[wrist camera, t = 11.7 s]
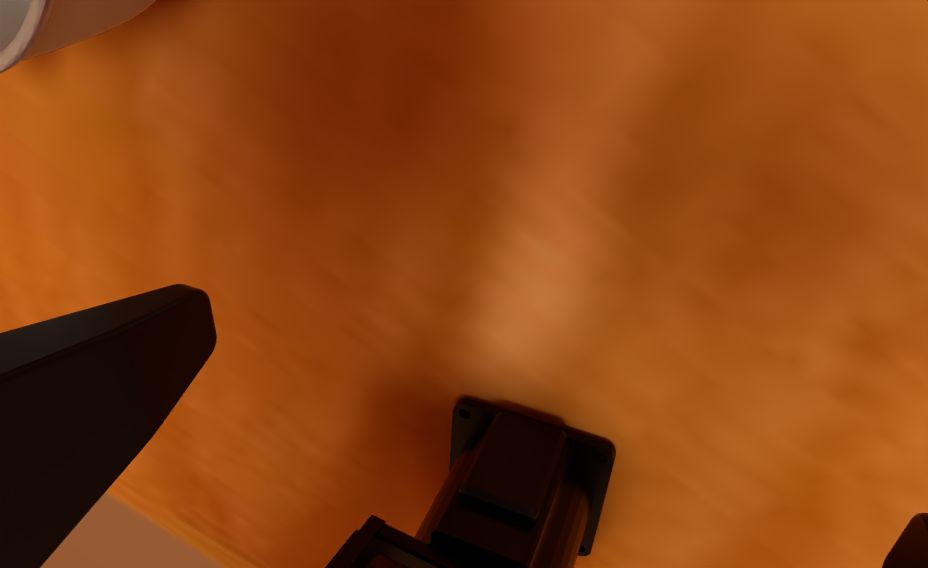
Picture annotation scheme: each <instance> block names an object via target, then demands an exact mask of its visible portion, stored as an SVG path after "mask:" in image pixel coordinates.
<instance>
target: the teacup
mask: <svg viewBox="0 0 928 568" xmlns="http://www.w3.org/2000/svg"><path fill="white" fill-rule="evenodd" d="M155 1H156V0H0V73H2V72H4V71H6V70H8V69H9V68H11V67H13V66H15V65H16V64H17V63H19V62H20V61H22V60H26V59H29V58H32V57H36V56H39V55H42V54H45V53H48V52H51V51H54V50H57V49H60V48H63V47H66V46H69V45H72V44H74V43H77V42H80V41H82V40H85V39H88V38H90V37H93V36H96V35H98V34H101V33H103V32H105V31H108V30H110V29H112V28H114V27H117V26H119V25H121V24H123V23H125V22H127V21H129V20H131V19H132V18H134V17H135V16H137V15H138V14H140V13H141V12H143V11H145V10H146V9H147V8H148V7H149V6H150V5H152V4H153V3H154V2H155Z"/></svg>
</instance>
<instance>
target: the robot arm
mask: <svg viewBox="0 0 928 568" xmlns="http://www.w3.org/2000/svg"><path fill="white" fill-rule="evenodd" d="M216 339H217V335H216V329H215V324H214V319H213V314H212V309H211V304H210V299H209V297H208V295H207V294H206V292H204V291H203V290H201V289H197V288H194V287H191V286H188V285H184V284H175V285H171V286H167V287H164V288H160V289H157V290H153V291H150V292H146V293H142V294H139V295H135V296H132V297H128V298H124V299H121V300H117V301H114V302H110V303H107V304H103V305H99V306H96V307H92V308H89V309H85V310H82V311H78V312H74V313H71V314H67V315H64V316H60V317H57V318H53V319H49V320H46V321H42V322H39V323H35V324H31V325H28V326H24V327H21V328H17V329H14V330H10V331H6V332H3V333H0V568H40V567H41V566H42V565H43V564H44V562H45V561H46V560H47V559H48V558H49V557H50V556H51V554H52V553H53V552H54V551H55V550H56V548H57V547H58V546H59V545H60V544H61V543H62V542H63V540H64V539H65V538H66V537H67V536H68V535H69V534H70V532H71V531H72V530H73V529H74V528H75V527H76V525H77V524H78V523H79V522H80V521H81V519H82V518H83V517H84V516H85V515H86V514H87V513H88V511H89V510H90V509H91V508H92V507H93V506H94V505H95V503H96V502H97V501H98V500H99V499H100V497H101V496H102V495H103V494H104V493H105V492H106V491H107V489H108V488H109V487H110V486H111V485H112V484H113V483H114V481H115V480H116V479H117V478H118V477H119V476H120V474H121V473H122V472H123V471H124V470H125V469H126V467H127V466H128V465H129V464H130V463H131V462H132V460H133V459H134V458H135V457H136V456H137V455H138V454H139V452H140V451H141V450H142V449H143V448H144V446H145V445H146V444H147V443H148V442H149V440H150V439H151V438H152V437H153V435H154V434H155V433H156V431H157V430H158V429H159V427H160V426H161V425H162V423H163V422H164V421H165V419H166V418H167V416H168V415H169V413H170V412H171V411H172V409H173V408H174V406H175V405H176V404H177V402H178V401H179V399H180V398H181V396H182V395H183V394H184V392H185V391H186V389H187V388H188V387H189V385H190V384H191V382H192V381H193V379H194V378H195V377H196V375H197V374H198V372H199V371H200V370H201V368H202V367H203V365H204V364H205V362H206V361H207V360H208V358H209V357H210V355H211V354H212V352H213V350H214V348H215V345H216ZM464 409H465V410H467V411H468V412H467V411H465V410H464ZM598 453H602V454H604V455H605V456H602V455H600V454H598ZM615 456H616V451H615V449H614V447H613V446H612V445H610V444H609V443H607V442H605V441H601V440H598V439H595V438H592V437H589V436H586V435H583V434H579V433H576V432H573V431H570V430H567V429H564V428H560V427H557V426H554V425H551V424H548V423H545V422H542V421H538V420H535V419H532V418H529V417H526V416H523V415H520V414H516V413H513V412H510V411H507V410H504V409H501V408H498V407H494V406H491V405H488V404H485V403H482V402H479V401H475V400H472V399H469V398H461V399H459V400H458V401H457V403H456V405H455V406H454V409H453V419H452V436H451V453H450V470H449V474H448V476H447V478H446V480H445V482H444V484H443V485H442V487H441V489H440V491H439V493H438V495H437V497H436V498H435V500H434V502H433V504H432V506H431V508H430V509H429V511H428V513H427V515H426V517H425V519H424V521H423V522H422V524H421V526H420V528H419V530H418V532H417V534H416V535H415V537H412V536H410V535H408V534H406V533H404V532H402V531H399V530H397V529H395V528H393V527H391V526H389V525H387V524H386V521H385V520H383V519H380V518H378V517H376V516H374V515H371V516H370V518H369V519H368V520H367V521H366V523H365V524H364V525H363V526H362V527H361V529H360V530H359V531H358V530H356V531H355V532H354V533H353V534H352V535H351V536H350V538H349V539H348V540H347V541H346V543H345V544H344V545H343V546H342V547H341V549H340V550H339V551H338V552H337V554H336V555H335V556H334V557H333V558H332V560H331V561H330V562H329V563H328V565H327V566H326V567H325V568H574V565H575V561H576V558H577V555H579V556H587V555H589V554H590V552H591V549H592V546H593V542H594V538H595V534H596V530H597V526H598V522H599V518H600V515H601V511H602V507H603V503H604V499H605V495H606V491H607V487H608V483H609V480H610V476H611V472H612V468H613V464H614V460H615ZM882 568H928V513H919V514H917V515H915V516H914V517H913V518H912V519H911V520H910V522H909V523H908V525H907V526H906V528H905V529H904V531H903V532H902V534H901V535H900V537H899V538H898V540H897V541H896V543H895V544H894V546H893V547H892V549H891V550H890V552H889V553H888V555H887V556H886V558H885V560H884V563H883V566H882Z"/></svg>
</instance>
